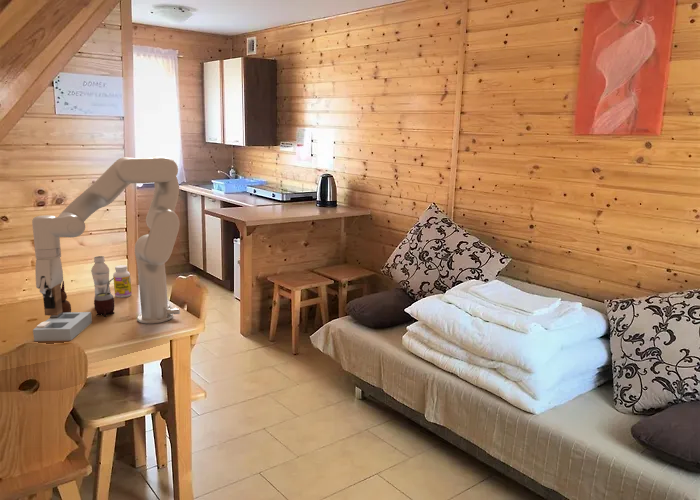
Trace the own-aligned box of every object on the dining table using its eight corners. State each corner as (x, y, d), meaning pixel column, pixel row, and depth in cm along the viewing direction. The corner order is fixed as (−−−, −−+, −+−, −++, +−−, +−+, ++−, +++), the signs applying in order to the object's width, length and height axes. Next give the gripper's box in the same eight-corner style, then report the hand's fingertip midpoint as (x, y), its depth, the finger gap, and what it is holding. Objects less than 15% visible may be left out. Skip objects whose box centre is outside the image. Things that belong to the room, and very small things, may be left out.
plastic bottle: (108, 308, 224) (104, 258, 220) (91, 308, 224) (86, 258, 220) (115, 303, 231) (111, 255, 226) (99, 303, 231) (94, 255, 226)
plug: (62, 311, 194) (59, 283, 192) (57, 315, 190) (54, 286, 188) (50, 311, 194) (47, 283, 192) (44, 315, 190) (42, 286, 188)
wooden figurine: (74, 317, 213) (70, 279, 210) (68, 322, 208) (63, 283, 205) (56, 318, 213) (51, 279, 210) (49, 323, 207) (44, 283, 204)
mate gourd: (95, 312, 219) (92, 275, 216) (117, 310, 222) (114, 273, 219) (94, 318, 212) (90, 279, 209) (117, 316, 215) (114, 277, 212)
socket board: (92, 322, 208) (90, 310, 207) (71, 340, 191) (69, 327, 190) (58, 323, 208) (57, 311, 207) (34, 341, 190) (32, 328, 189)
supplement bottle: (113, 298, 237) (111, 268, 235) (116, 294, 244) (113, 264, 241) (130, 297, 239) (128, 267, 236) (132, 293, 245) (130, 264, 243)
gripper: (48, 248, 196) (53, 299, 200) (23, 258, 180) (29, 314, 183) (70, 248, 197) (75, 299, 200) (48, 258, 180) (53, 313, 184)
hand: (53, 305), depth 192 cm, fingers closed on plug, 4 cm apart
